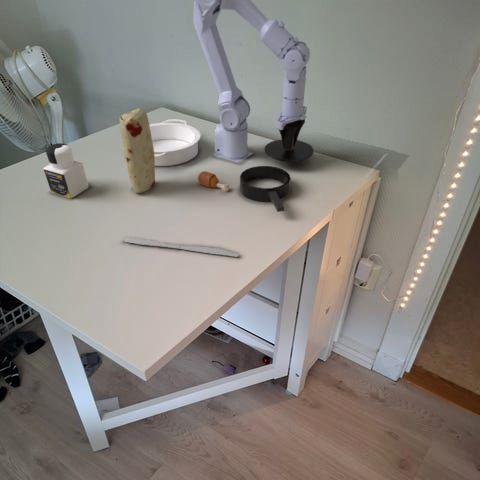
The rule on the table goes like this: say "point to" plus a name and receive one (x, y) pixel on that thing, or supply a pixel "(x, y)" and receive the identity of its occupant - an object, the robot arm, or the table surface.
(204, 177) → the drumstick
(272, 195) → the pan handle
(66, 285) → the table surface
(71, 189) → the medicine bottle
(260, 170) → the pan
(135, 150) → the food model
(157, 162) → the pot
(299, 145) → the pan lid
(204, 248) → the butter knife
